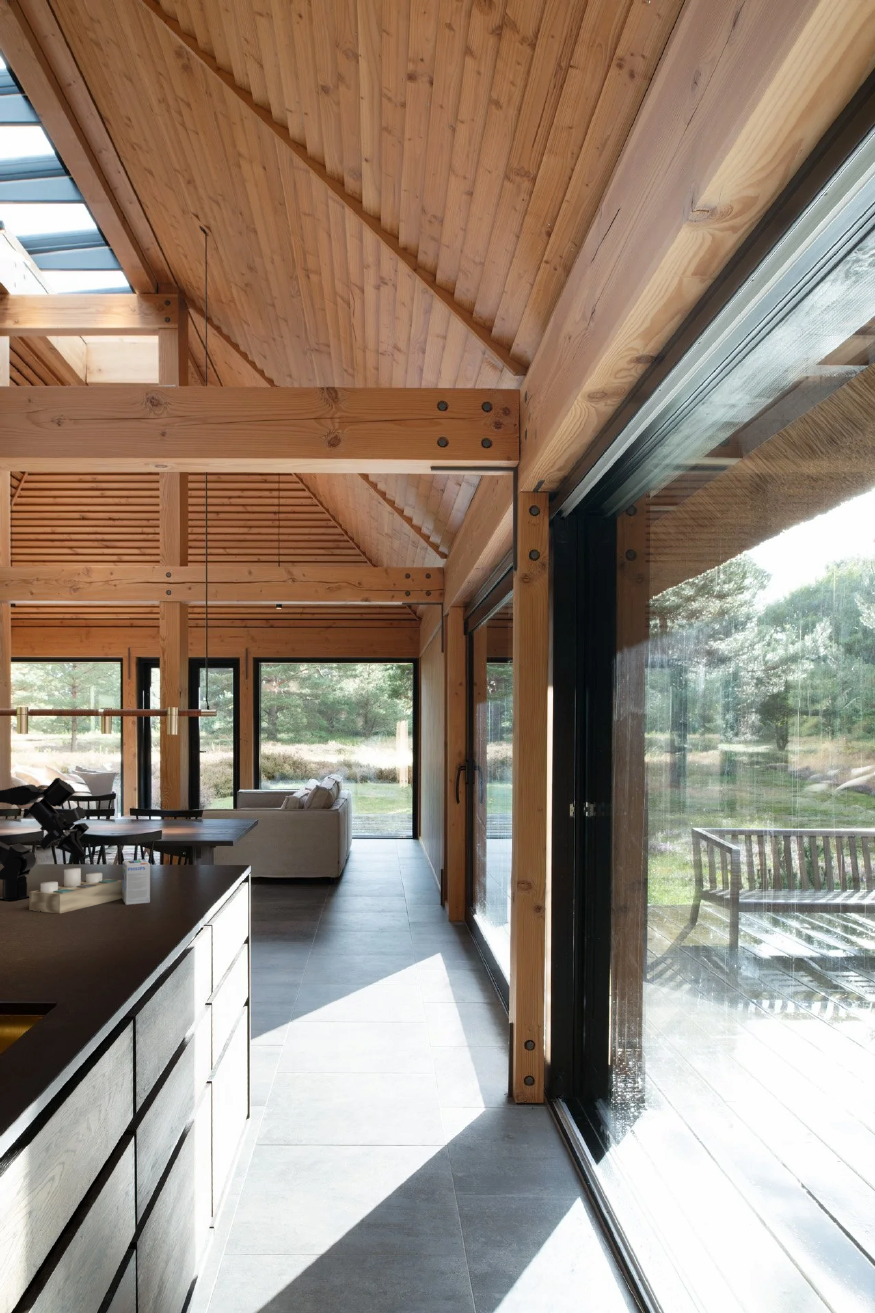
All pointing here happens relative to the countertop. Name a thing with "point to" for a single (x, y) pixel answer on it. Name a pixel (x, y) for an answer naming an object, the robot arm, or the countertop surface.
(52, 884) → the button
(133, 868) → the light bulb box
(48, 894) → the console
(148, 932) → the countertop surface
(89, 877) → the button
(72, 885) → the button
